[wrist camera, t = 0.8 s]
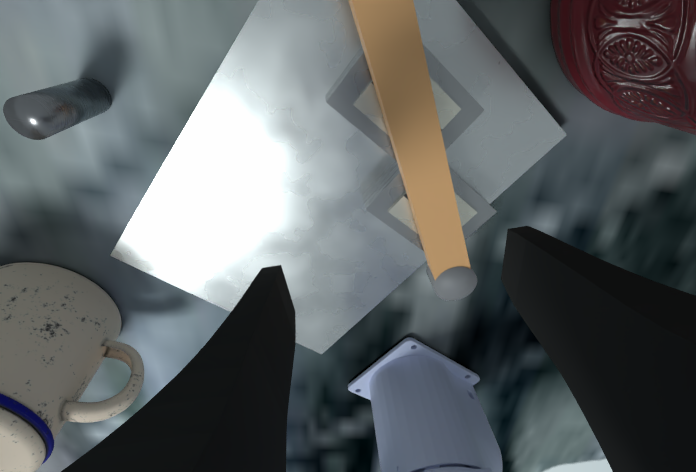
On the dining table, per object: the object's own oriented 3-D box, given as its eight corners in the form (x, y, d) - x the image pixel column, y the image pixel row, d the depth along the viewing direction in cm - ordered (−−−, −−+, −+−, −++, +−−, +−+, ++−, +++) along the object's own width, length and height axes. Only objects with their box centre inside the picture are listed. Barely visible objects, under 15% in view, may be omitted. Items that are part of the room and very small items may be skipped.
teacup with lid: (-6, 344, 25) (-211, 554, 15) (-43, 244, 21) (-369, 451, 11) (169, 362, 28) (89, 552, 18) (171, 276, 23) (65, 468, 13)
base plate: (556, 129, 20) (613, 156, 16) (321, 343, 28) (322, 395, 24) (220, -272, 11) (172, -417, 8) (27, 202, 19) (-43, 247, 16)
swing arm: (287, -127, 12) (277, -176, 9) (371, -170, 12) (391, -235, 9) (417, 271, 23) (433, 311, 20) (465, 255, 22) (489, 294, 19)
